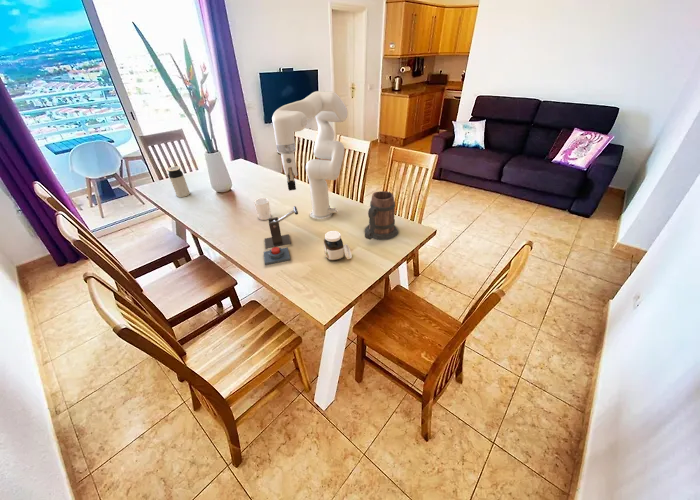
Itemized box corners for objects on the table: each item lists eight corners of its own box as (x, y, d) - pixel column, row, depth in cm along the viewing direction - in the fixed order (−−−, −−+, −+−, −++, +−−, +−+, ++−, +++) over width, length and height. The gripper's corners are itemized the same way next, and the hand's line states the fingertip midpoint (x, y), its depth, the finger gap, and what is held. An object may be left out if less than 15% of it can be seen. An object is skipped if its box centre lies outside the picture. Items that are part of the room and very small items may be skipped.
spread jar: (322, 252, 137) (320, 231, 131) (345, 246, 141) (344, 225, 134) (331, 267, 128) (330, 245, 122) (355, 260, 132) (355, 238, 125)
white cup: (268, 221, 163) (265, 204, 157) (255, 220, 165) (251, 203, 159) (274, 214, 170) (271, 198, 164) (261, 213, 171) (258, 197, 165)
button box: (288, 251, 139) (287, 244, 137) (290, 262, 132) (289, 255, 130) (264, 255, 137) (262, 248, 135) (265, 267, 130) (263, 259, 127)
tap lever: (297, 208, 141) (294, 204, 140) (299, 214, 137) (296, 210, 135) (272, 223, 142) (269, 220, 140) (273, 230, 137) (270, 226, 136)
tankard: (375, 219, 161) (375, 185, 150) (403, 227, 154) (406, 192, 142) (351, 240, 145) (350, 203, 134) (382, 250, 138) (384, 212, 126)
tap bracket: (289, 236, 150) (285, 213, 143) (291, 245, 143) (287, 222, 135) (264, 240, 147) (259, 217, 140) (266, 250, 140) (260, 227, 133)
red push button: (279, 249, 134) (279, 246, 133) (280, 253, 131) (279, 250, 130) (271, 250, 133) (270, 247, 132) (272, 255, 131) (271, 252, 130)
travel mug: (192, 192, 198) (183, 166, 188) (185, 197, 192) (175, 170, 181) (181, 192, 199) (171, 166, 189) (174, 197, 192) (163, 170, 182)
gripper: (297, 151, 116) (303, 194, 127) (292, 142, 128) (298, 182, 139) (278, 153, 115) (285, 197, 125) (275, 143, 127) (282, 184, 137)
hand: (292, 189), depth 132 cm, fingers closed
